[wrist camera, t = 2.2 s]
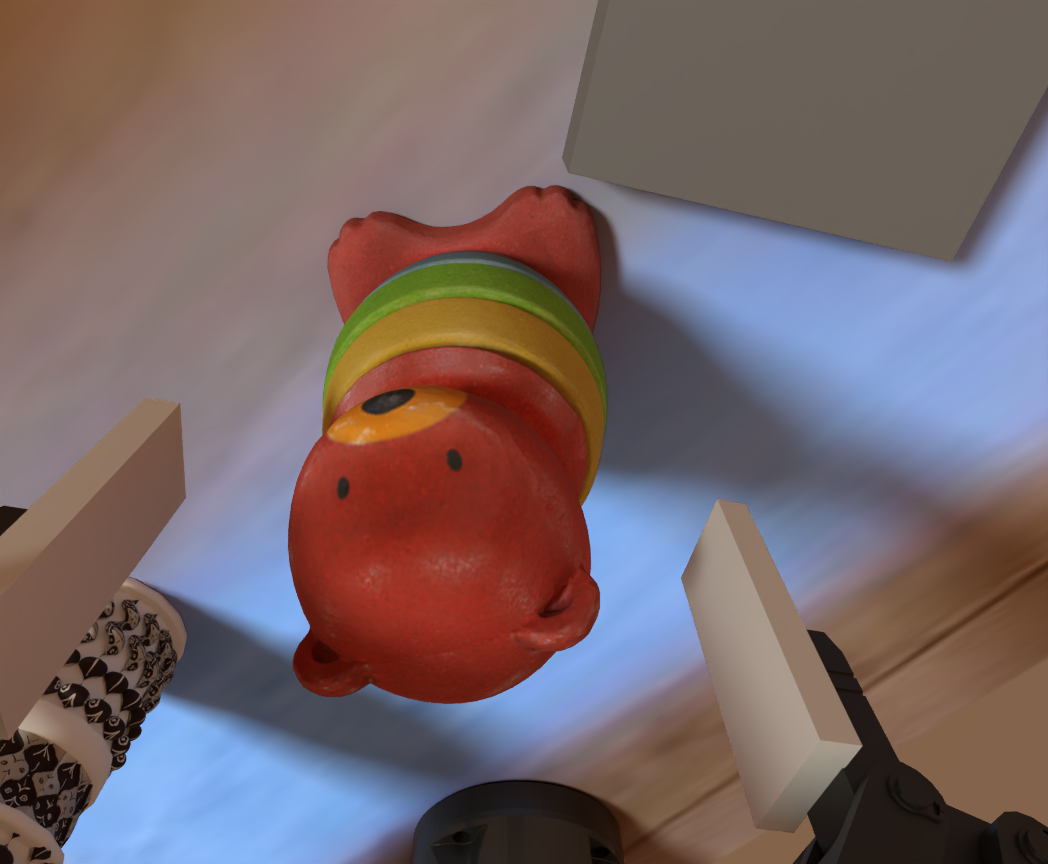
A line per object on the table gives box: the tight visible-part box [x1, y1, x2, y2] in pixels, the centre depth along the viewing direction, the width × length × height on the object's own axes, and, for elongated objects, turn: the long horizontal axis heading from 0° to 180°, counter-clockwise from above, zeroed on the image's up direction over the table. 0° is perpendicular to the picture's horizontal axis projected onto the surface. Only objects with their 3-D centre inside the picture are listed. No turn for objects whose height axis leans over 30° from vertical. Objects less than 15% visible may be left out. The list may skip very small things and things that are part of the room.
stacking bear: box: [288, 185, 607, 704], centre depth 20 cm, size 11×10×18 cm
